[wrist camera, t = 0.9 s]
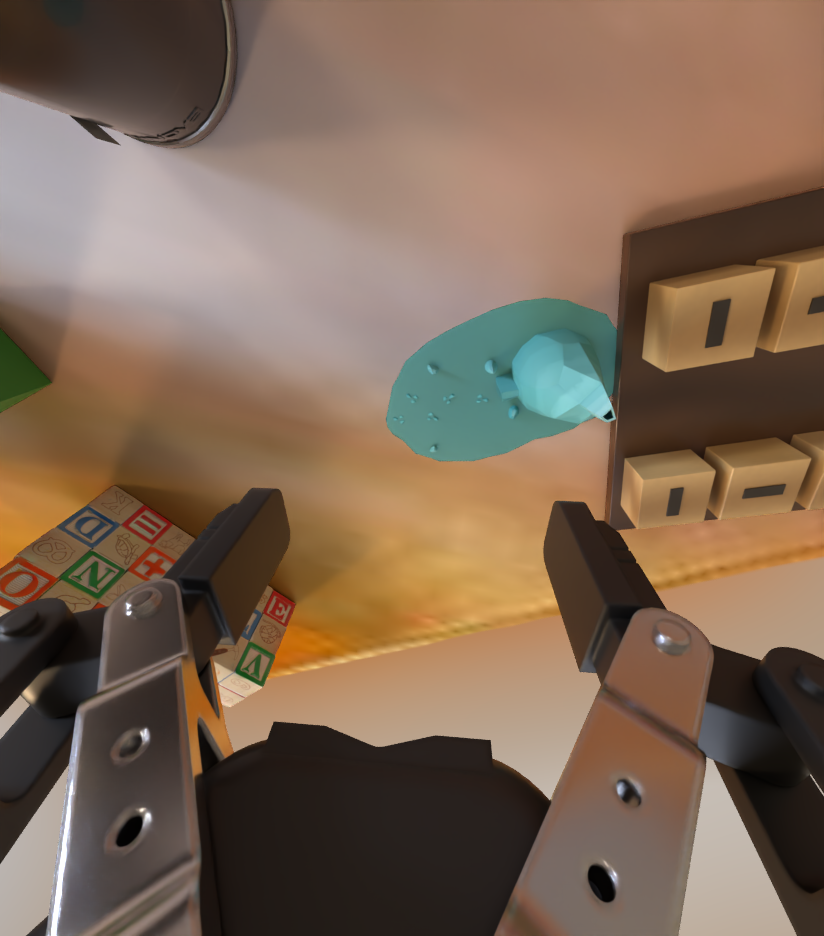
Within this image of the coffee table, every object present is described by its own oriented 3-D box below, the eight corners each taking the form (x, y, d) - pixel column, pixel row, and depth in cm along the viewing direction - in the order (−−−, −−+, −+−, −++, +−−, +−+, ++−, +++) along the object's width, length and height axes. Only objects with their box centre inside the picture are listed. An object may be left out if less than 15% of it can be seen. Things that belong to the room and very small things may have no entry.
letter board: (622, 234, 21) (658, 232, 18) (1065, 128, 18) (1216, 101, 14) (604, 523, 32) (623, 558, 29) (874, 493, 29) (933, 527, 25)
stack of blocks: (298, 602, 41) (249, 726, 30) (267, 624, 43) (212, 745, 33) (112, 483, 34) (-36, 592, 23) (88, 517, 36) (-55, 630, 26)
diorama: (337, 359, 27) (297, 404, 19) (633, 237, 22) (730, 236, 14) (401, 489, 32) (390, 561, 25) (648, 416, 27) (723, 480, 20)
